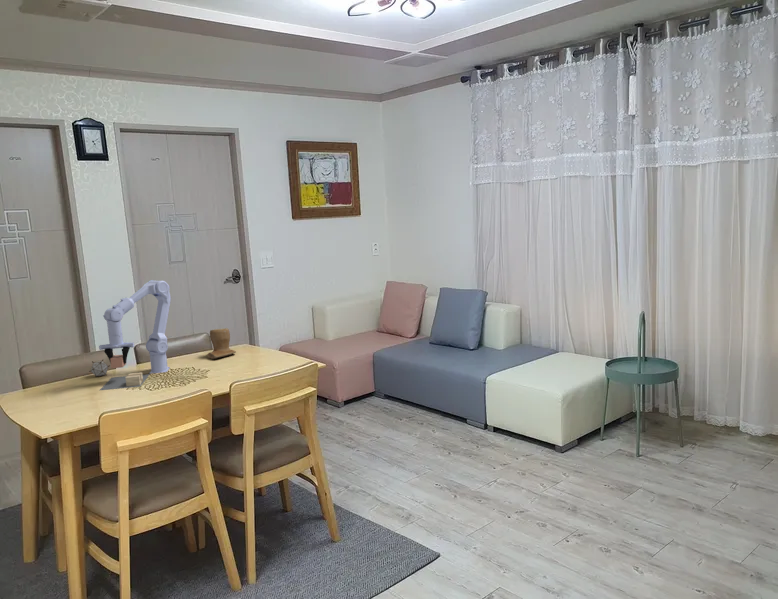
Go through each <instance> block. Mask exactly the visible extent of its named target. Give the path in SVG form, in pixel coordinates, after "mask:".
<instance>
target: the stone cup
mask: <svg viewBox="0 0 778 599" xmlns="http://www.w3.org/2000/svg"><path fill="white" fill-rule="evenodd" d="M230 333H231V332H230V329H229V328H227V327H226V328H215V329H210V331H209V339H210V341H211V344H212V347H213V350H212V351H210V352H209V353H207V357H208V358H209V359H211V360H215V359H221V358H223V357H227V356H230V355H233V354H236V353H237V351H236V350H233V349H231V348H230V340H231V334H230Z"/></svg>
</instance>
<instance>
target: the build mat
mask: <svg viewBox="0 0 778 599" xmlns="http://www.w3.org/2000/svg"><path fill="white" fill-rule="evenodd" d="M142 375H143V382H142V383H141V384H140V385H136V386H126V377H127V375H123V376H114V377H111V378H109V380H108V381H107V382H106V383H105V384H104V385H102V387H101V388H100V389H99V390H98V391H107V390H119V389H130V388H140V387H141V386H142V385H143V384H144V383H145V381H146V380H147V379H148V377H149V376H150V375H151V374H149V373H145V374H142Z"/></svg>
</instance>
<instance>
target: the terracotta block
mask: <svg viewBox="0 0 778 599" xmlns="http://www.w3.org/2000/svg"><path fill="white" fill-rule="evenodd" d="M110 360H111V363H110V366H111V368H110V369H119V368H124V367H125V366H126V365H127V363H126V364H124V362H123V354H115V355H114V354H113V357H112V358H111V359H110ZM110 360H109V361H110Z"/></svg>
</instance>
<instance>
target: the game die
mask: <svg viewBox="0 0 778 599" xmlns="http://www.w3.org/2000/svg"><path fill="white" fill-rule="evenodd" d="M91 363H92V364H91V365H92V366H91V368H90V370H89V371H88V372H91V373H92V374H93V375H94V376H95V378H98V377H101V376H107V373H108V369H109V367H110V366H111V364H110V365H108V364H107V363H106V362H105V361H104V359H102V360H98V361H91Z"/></svg>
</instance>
